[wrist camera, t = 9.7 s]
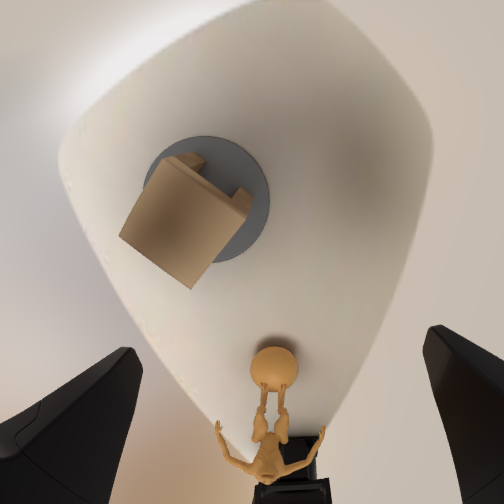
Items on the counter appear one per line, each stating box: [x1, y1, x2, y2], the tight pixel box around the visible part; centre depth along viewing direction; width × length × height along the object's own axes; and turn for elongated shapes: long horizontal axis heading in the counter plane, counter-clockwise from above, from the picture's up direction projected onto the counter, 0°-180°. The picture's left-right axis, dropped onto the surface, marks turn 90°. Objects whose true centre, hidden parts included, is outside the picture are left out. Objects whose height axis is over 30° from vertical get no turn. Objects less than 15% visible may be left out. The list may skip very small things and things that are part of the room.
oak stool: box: [118, 152, 254, 290], centre depth 16 cm, size 5×5×6 cm
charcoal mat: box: [143, 136, 269, 263], centre depth 19 cm, size 9×9×1 cm
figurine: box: [215, 346, 325, 485], centre depth 19 cm, size 8×6×12 cm
